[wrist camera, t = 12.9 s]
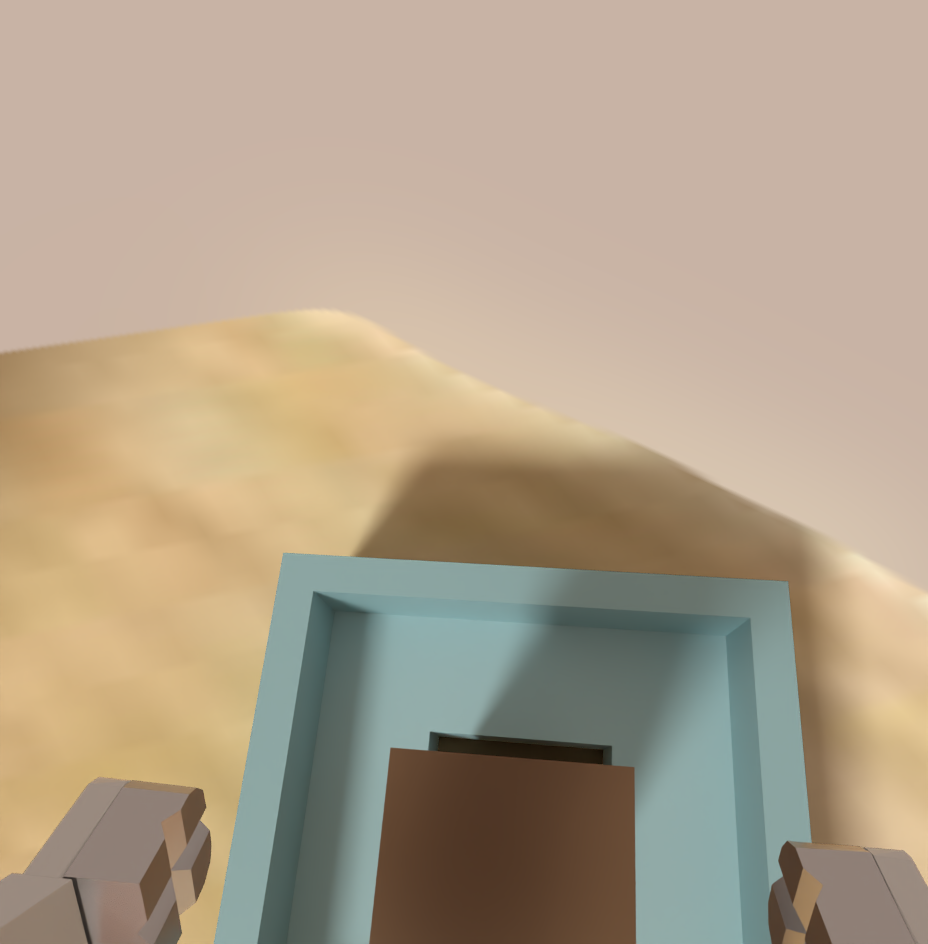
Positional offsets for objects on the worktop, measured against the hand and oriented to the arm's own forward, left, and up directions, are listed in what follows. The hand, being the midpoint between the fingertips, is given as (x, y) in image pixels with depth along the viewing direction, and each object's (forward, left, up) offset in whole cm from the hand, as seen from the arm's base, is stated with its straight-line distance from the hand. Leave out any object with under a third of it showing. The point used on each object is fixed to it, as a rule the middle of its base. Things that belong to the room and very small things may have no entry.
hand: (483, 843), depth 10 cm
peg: (0, -1, -17) cm, 17 cm away
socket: (0, -1, -17) cm, 17 cm away
